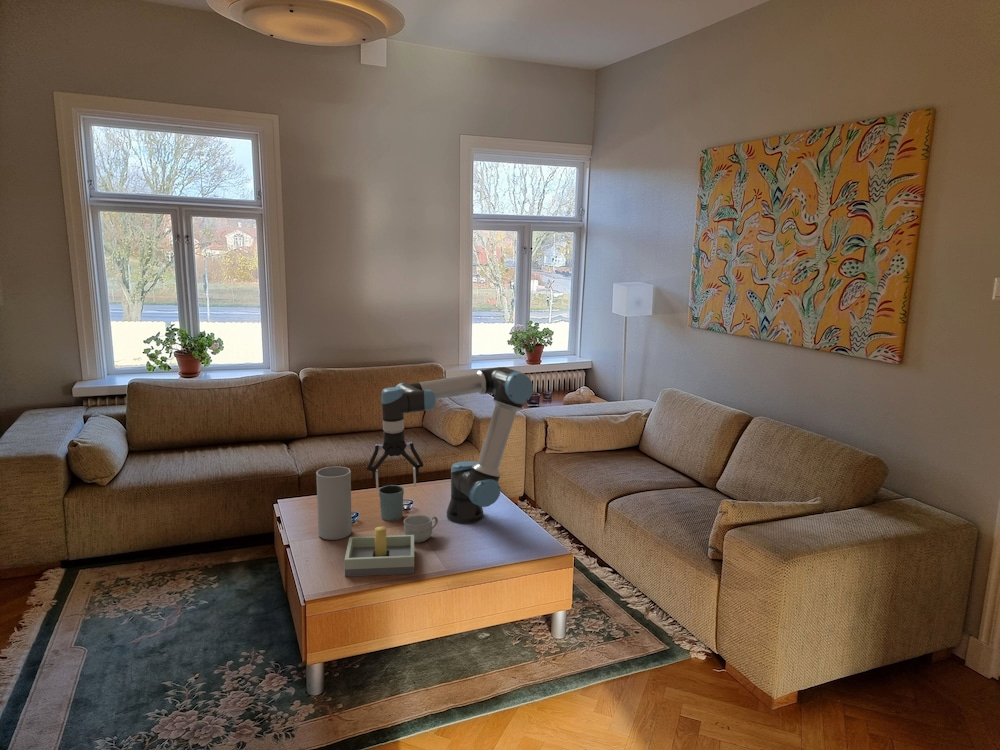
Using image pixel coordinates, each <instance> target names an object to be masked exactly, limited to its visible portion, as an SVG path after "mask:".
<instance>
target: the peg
mask: <svg viewBox="0 0 1000 750" xmlns="http://www.w3.org/2000/svg"><path fill="white" fill-rule="evenodd" d="M374 536H375V557H384V556H387V547H386V536H387V527H385V526H377V527H375V528H374Z"/></svg>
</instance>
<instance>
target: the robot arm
mask: <svg viewBox="0 0 1000 750" xmlns="http://www.w3.org/2000/svg"><path fill="white" fill-rule="evenodd" d="M533 388H534V385H533V382H532V380H531V379H530V377H529V375H527V374H525V373H523V372H521V371H518V370H514V369H512V368H509V367H504V366H502V367H501V366H500V367H499V366H498V367H493V368H486V369H483V370H477V371H476V372H475V373H472V374H465V375H459V376H453V377H445V378H440V379H433V380H428V381H427V380H426V381H421V382H420V381H419V382H414V383H413V382H412V383H408V382H400V383H398V384H397V385H396V386H395V387H386V388H383V389H382V391H381V401H380V402H381V411H382V430H383V432H382V434H383V437H382V438H383V444H379V443H376V444H374V451H373V453H372V455H371V456H370V460H369V462H368V464H367V467H366V470H367V471H368V472H369V471H370V472H371V474H372V481H373V480H374V481H375V489H376V490H379V489H380V488H379V471H378V468H379V467H380V466H381V465H382V463H383V462H384V461H385V460H386V459H387V458H388V456H390V457H395V456H396V457H399V456H402V457H403V458H404V459H406V461H407V462H409V463H410V465H412V471H413V472H412V473H413V474H412V475H413V476H412V477H413V487H417V478H419V476H420V472H419V471H420V470H419V469H420V468H422V467H424V462H423V460H422V458H421V457H420V454H419V453H418V451H417V450H416V449H415V446H414V441H411V440H410V442H407V443H406V440H405V439H406V438H405V431H404V430H405V420H404V419H405V418H404V417H405V416H404V415H405V414H409V413H417V412H426V411H429V410H430V411H431V410H434V409H435V407H436V403H437V402H436V401H437V400H441V399H446V398H452V397H458V396H463V395H465V396H466V395H470V394H475V393H477V394H478V393H479V394H480V395H487V394H490V395H491V394H492V395H494V396H493V399H492V401H493V402H494V404H495V406H494V409H493V413H492V415H491V419H490V420H489V425H488V428H487V431H486V434H485V437H484V441H483V444H482V447H481V450H480V453H479V456H478V460H477V461H473V460H469V461H467V460H466V461H457V462H455V463H453V464H452V465H451V470H450V499H449V503H448V506H447V509H446V518H447V519H448V521H451V522H453V523H458V524H473V523H476V522H479V521H481V520H482V519H483V518H484V508H485V507H489V506H492V505H493V504H495V503H496V502H497V501H498V499H499V498H500V496H501V495H500V494H501V491H502V490H501V486H500V484H499V481H500V477H501V474H500V471H499V468H500V465H501V461H502V458H503V456H504V455H503V454H504V452H505V449H506V446H507V444H508V443H507V442H508V440H509V436H510V433H511V431H512V427H513V424H514V421H515V417H516V415H517V413H518V412H519V411H521V410H522V408H523V405H524V404H525V403H527V401H529V400H530V398H531V397H532V395H533V391H534V389H533ZM406 448H408V449H409V450H410V451H411V453H412V454H413V456H414V458H415V459H416V461H417V462H418V463H417V462H416V461H415V460H414V458H413V457H411V456H410V454H408V453H407V451H405V450H406ZM382 449H383V451H384V452H383V453H382V454H381V456H380V457H379V458H378V460H377V461H376V462H375V460H376V458H377V456H378V453H379V452H381V450H382ZM374 462H375V463H374Z"/></svg>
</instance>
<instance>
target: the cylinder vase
mask: <svg viewBox="0 0 1000 750" xmlns="http://www.w3.org/2000/svg"><path fill="white" fill-rule="evenodd" d="M315 473H316V498H317V499H316V501H317V505H316V506H317V528H318V529H317V531H318V533H317V534H318V536H319V537H320V538H321V539H324V540H327V541H336V540H337V541H338V540H343V539H346V538H347V537H349V536H350V535H351V534H352V533H353V532H352V531H353V527H352V526H353V525H352V524H353V523H352V484H351V482H352V481H351V480H352V477H351V476H352V475H351V469H350V468H348V467H345V466H327V467H322V468H320V469H318V470H316V472H315Z"/></svg>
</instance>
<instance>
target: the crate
mask: <svg viewBox="0 0 1000 750" xmlns="http://www.w3.org/2000/svg"><path fill="white" fill-rule="evenodd" d="M347 542H348V543H347V547H346V551H345V556H344V577H360V576H361V577H363V576H386V575H387V576H389V575H407V574H411V573H412V574H415V542H414V535H405V534H400V535H399V534H396V535H394V534H393V535H386V547H387V556H384V557H375V535H374V536H372V535H368V536H367V535H366V536H350V537H349V536H348V541H347Z"/></svg>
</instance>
